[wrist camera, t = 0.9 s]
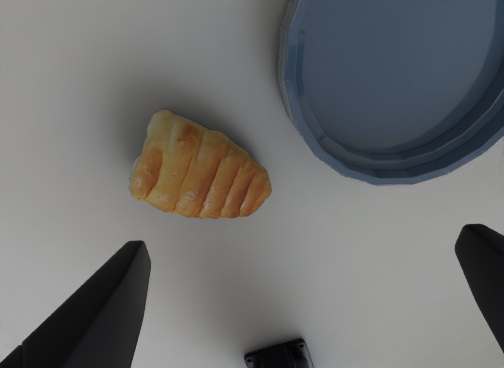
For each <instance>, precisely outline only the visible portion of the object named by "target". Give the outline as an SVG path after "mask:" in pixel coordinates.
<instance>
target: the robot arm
mask: <svg viewBox="0 0 504 368" xmlns="http://www.w3.org/2000/svg"><path fill="white" fill-rule="evenodd" d="M455 253H456V256H457V258H458V260H459V263H460V265H461V268H462V270H463V272H464V275H465V277H466V280H467V282H468V284H469V287H470V289H471V292H472V294H473V296H474V298H475V301H476V303H477V305H478V307H479V309H480V311H481V312H482V314H483V316H484V318H485V320H486V322H487V323H488V325H489V327H490V329H491V331H492V333H493V334H494V336H495V338H496V340H497V342H498V344H499V345H500V347H501V349H502V351H503V353H504V236H503V235H501V234H499V233H498V232H496V231H494V230H492V229H490V228H488V227H487V226H485V225H483V224H467V225H465V226H464V227H463V228H462V230H461V232H460V235H459V237H458V239H457V241H456V244H455ZM150 271H151V260H150V257H149V254H148V251H147V248H146V245H145V243H144V241H141V240H138V241H129V242H127V243H126V244H125V245H124V246H123V247H122V248H120V249H119V250H118V251H117V252H116V253H115V254H114V255H113V256H112V257H111V258H110V259H109V260H108V261H107V262H106V263H105V264H104V265H103V266H102V267H101V268H100V269H98V270H97V271H96V272H95V273H94V274H93V275H92V276H91V277H90V278H89V279H88V280H87V281H86V282H85V283H84V284H83V285H82V286H81V287H80V288H79V289H77V290H76V291H75V292H74V293H73V294H72V295H71V296H70V297H69V298H68V299H67V300H66V301H65V302H64V303H63V304H62V305H61V306H60V307H59V308H58V309H57V310H55V311H54V312H53V313H52V314H51V315H50V316H49V317H48V318H47V319H46V320H45V321H44V322H43V323H42V324H41V325H40V326H39V327H38V328H37V329H36V330H34V331H33V332H32V333H31V334H30V335H29V336H28V337H27V338H26V339H25V340H24V341H23V342H22V345H19V346H18V347H16V348H15V349H14V350H13V351H12V352H11V353H10V354H9V355H8V356H7V357H6V358H5V359H4V360H3V361H2V362H1V363H0V368H131V364H132V360H133V356H134V352H135V349H136V345H137V341H138V337H139V334H140V330H141V326H142V322H143V317H144V311H145V305H146V298H147V291H148V284H149V277H150ZM244 359H245V363H246V365H247V367H248V368H314V367H313V364H312V361H311V358H310V355H309V352H308V349H307V346H306V343H305V341H304V340H303V339H299V340H296V341H292V342H289V343H285V344H282V345H278V346H275V347H271V348H267V349H264V350H260V351H257V352H253V353H250V354H247V355H245V357H244Z"/></svg>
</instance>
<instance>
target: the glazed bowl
mask: <svg viewBox="0 0 504 368" xmlns="http://www.w3.org/2000/svg"><path fill="white" fill-rule="evenodd" d="M277 73H278V79H279V83H280V87H281V91H282V95H283V100H284V104H285V108H286V112H287V114H288V116H289V117H290V119H291V120H292V122H293V123H294V125H295V126H296V128H297V130H298V131H299V133H300V134H301V136H302V137H303V139H304V140H305V142H306V143H307V145H308V146H309V148H310V149H311V151H312V152H313V153H314V155H315V156H316V157H318V158H319V159H320V160H322V161H323V162H325V163H326V164H327V165H329V166H330V167H331V168H333V169H334V170H335V171H337V172H338V173H339V174H341V175H342V176H345V177H348V178H351V179H355V180H358V181H361V182H365V183H368V184H372V185H376V186H384V185H411V184H412V185H413V184H416V183H419V182H423V181H426V180H429V179H433V178H436V177H439V176H443V175H446V174H448V173H450V172H452V171H454V170H456V169H457V168H459V167H461V166H463V165H464V164H466V163H468V162H469V161H471V160H473V159H475V158H476V157H478V156H480V155H482V154H483V153H485V152H486V151H487V150H488V149H489V148H490V147H492V146H493V145H494V144H495V143H496V142H497V141H498V140H499V139H500V138H501V137H503V136H504V0H290V1H289V4H288V7H287V10H286V13H285V16H284V18H283V21H282V24H281V28H280V38H279V54H278V70H277Z"/></svg>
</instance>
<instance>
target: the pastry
mask: <svg viewBox="0 0 504 368" xmlns="http://www.w3.org/2000/svg"><path fill="white" fill-rule="evenodd" d="M129 180H130V183H129V190H130V192H131V194H132V196H133V197H134V198H135V199H137V200H143V201H145V202H147V203H149V204H150V205H152V206H154V207H156V208H158V209H159V210H162V211H164V212H171V213H177V214H180V215H182V216H186V217H194V218H201V219H202V218H215V219H217V218H236V217H244V216H248V215H250V214H252V213H253V212H255V211H256V210H257V209H258V208H259V207H260V206H261V205H262V203H263V202H264V200H265V199H266V198H268V197H269V196H270V194H271V191H272V189H271V184H270V180H269V178H268V173H267V170H266V169H265V168H264V167H263V166H261V165H260V164H259V163H258V162H257V161H256V160H254V159H252V157H251V156H250V155H249V153H248V152H247V151H246V150H244V149H242V148H241V147H239V146H238V145H236V144H235V143H234V142H233V141H232V140H231V139H230V138H228V137H226V135H224V134H223V133H221V132H219V131H215V130H209V129H207V128H205V127H204V126H201V125H199V124H197V123H195V122H194V121H191V120H189V119H186V118H184V117H182V116H179V115H175V114H174V113H172V112H171V111H168V110H160V111H158V112H156V113H154V114H153V116H152V118H151V121H150V123H149V125H148V128H147V131H146V138H145V142H144V147H143V151H142V154H141V155H140V156H139V157H138V158H137V159H136V160H135V162H134V163H133V166H132V170H131V172H130V177H129Z"/></svg>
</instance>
